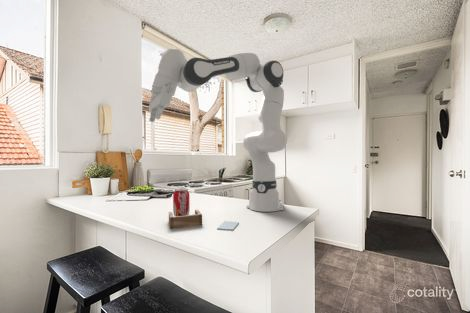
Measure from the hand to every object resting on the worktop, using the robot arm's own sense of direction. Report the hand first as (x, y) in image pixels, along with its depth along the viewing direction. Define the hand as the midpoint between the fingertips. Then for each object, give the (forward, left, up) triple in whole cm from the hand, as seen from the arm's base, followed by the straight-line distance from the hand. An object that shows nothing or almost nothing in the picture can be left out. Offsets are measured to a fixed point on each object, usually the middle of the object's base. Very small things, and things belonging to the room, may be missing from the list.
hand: (154, 120), depth 88 cm
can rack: (-6, +10, -41) cm, 42 cm away
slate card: (-7, +28, -42) cm, 51 cm away
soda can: (-14, +3, -41) cm, 44 cm away
